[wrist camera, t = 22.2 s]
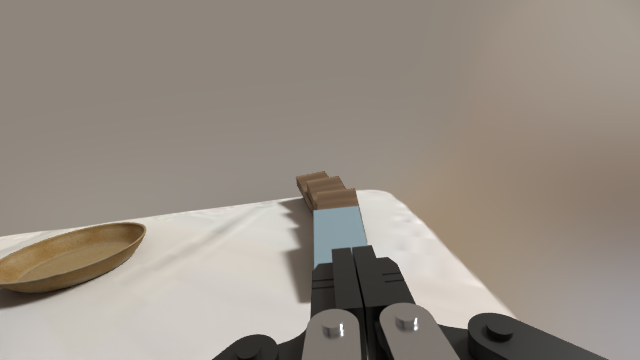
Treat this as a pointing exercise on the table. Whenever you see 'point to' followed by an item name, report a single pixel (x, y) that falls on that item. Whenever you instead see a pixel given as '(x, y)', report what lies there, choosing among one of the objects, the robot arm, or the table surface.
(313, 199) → the domino
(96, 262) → the plant saucer
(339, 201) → the domino
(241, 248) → the table surface
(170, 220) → the table surface
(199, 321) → the table surface
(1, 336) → the table surface
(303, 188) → the domino
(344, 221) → the domino
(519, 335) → the robot arm
